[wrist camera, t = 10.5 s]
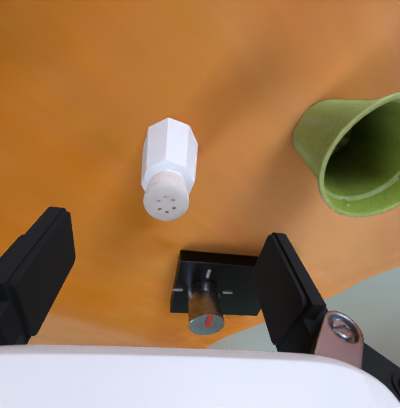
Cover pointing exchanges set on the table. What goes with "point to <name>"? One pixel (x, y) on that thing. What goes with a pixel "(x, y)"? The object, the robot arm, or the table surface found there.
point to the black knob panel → (217, 281)
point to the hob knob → (204, 308)
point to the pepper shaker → (168, 169)
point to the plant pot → (353, 153)
